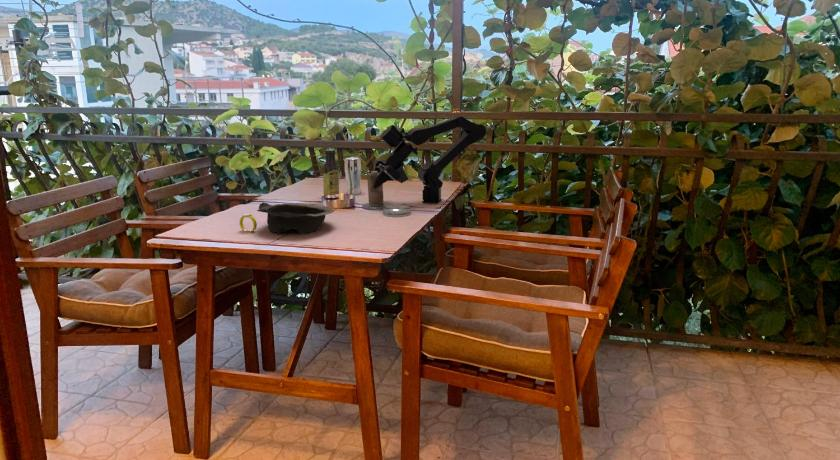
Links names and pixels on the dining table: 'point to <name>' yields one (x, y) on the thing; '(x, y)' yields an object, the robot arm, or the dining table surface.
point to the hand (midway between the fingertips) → (372, 186)
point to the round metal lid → (396, 210)
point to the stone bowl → (294, 216)
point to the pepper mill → (374, 190)
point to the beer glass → (353, 175)
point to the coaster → (368, 207)
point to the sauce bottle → (330, 174)
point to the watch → (250, 218)
